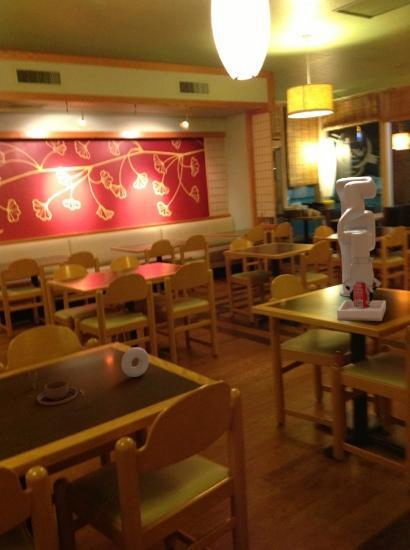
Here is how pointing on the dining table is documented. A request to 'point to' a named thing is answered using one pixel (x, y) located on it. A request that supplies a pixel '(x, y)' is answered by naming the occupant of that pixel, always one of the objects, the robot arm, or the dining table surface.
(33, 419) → the dining table surface
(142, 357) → the donut
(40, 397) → the place setting
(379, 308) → the tray
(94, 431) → the dining table surface
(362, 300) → the soda can
